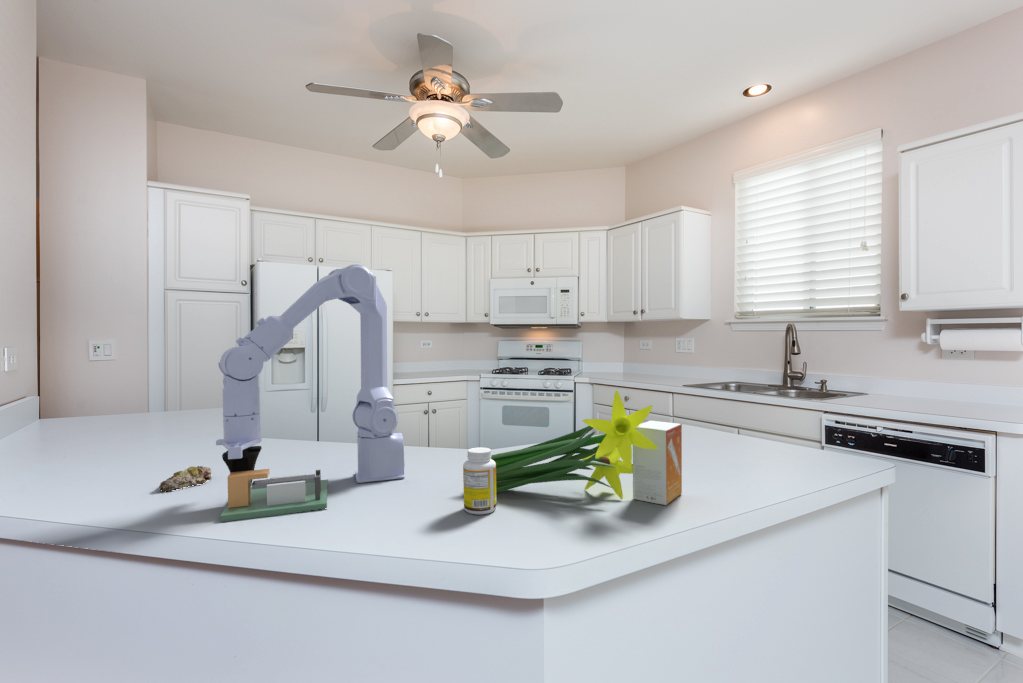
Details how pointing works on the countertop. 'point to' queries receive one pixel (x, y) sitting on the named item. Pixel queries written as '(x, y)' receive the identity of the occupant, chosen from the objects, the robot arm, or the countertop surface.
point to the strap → (283, 480)
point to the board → (275, 509)
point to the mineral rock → (186, 478)
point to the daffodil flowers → (604, 460)
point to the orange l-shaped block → (242, 486)
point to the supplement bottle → (479, 482)
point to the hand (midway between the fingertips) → (243, 490)
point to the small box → (658, 463)
